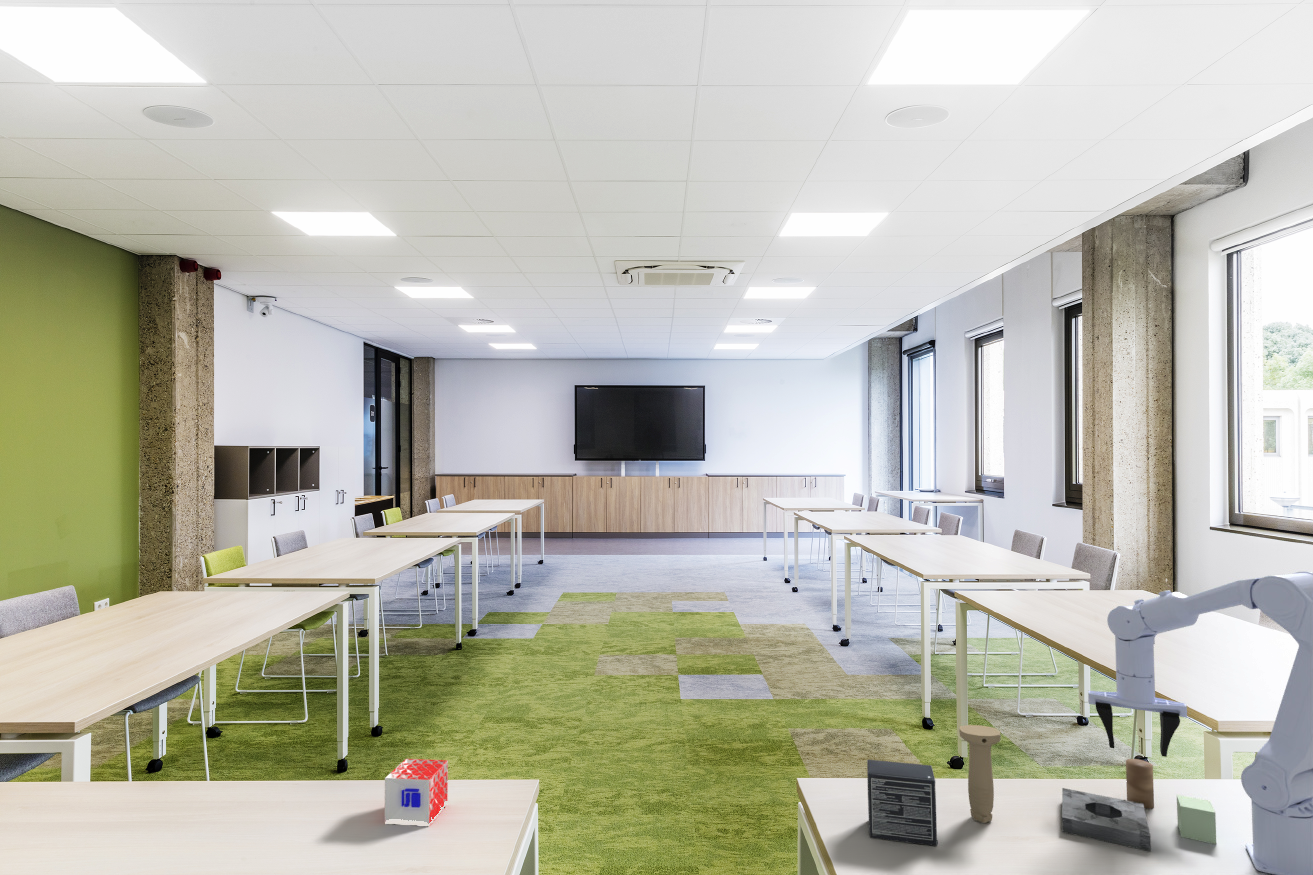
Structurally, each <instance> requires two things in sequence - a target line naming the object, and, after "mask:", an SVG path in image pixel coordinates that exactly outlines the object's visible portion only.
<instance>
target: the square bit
mask: <svg viewBox="0 0 1313 875" xmlns="http://www.w3.org/2000/svg"><path fill="white" fill-rule="evenodd" d="M1216 819H1217V818H1216V811H1215V808H1214V806H1213V804H1212V802H1211V800H1209V799H1207V800H1206V799H1203V798H1196V797H1192V796H1187V795H1186V796H1185V795H1182V794H1176V820H1177V827H1178V831H1179V833H1180V836H1181V838H1184V837H1186V838H1185V839H1189V838H1191V839H1190V840H1194V839H1195V840H1194V841H1199V840H1200V842H1203V841H1204V842H1205V843H1208V844H1212V845H1213V844H1215V845H1217V827H1216V826H1217V823H1216ZM1204 842H1203V843H1204Z"/></svg>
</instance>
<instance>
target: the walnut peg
mask: <svg viewBox="0 0 1313 875" xmlns="http://www.w3.org/2000/svg"><path fill="white" fill-rule="evenodd" d="M1125 777H1126V778H1125V781H1127V782H1126V800H1127V801H1132V802H1137V803H1142V804H1143V805H1144V809H1145V810H1151V809H1153V808H1154V807H1155V792H1154V790H1155V789H1154V765H1153V764H1152V763H1151V762H1148V761H1146V760H1143V759H1140V758H1139V759H1138V758H1127V759H1126V760H1125ZM1154 809H1155V808H1154Z"/></svg>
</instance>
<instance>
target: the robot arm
mask: <svg viewBox="0 0 1313 875" xmlns="http://www.w3.org/2000/svg"><path fill="white" fill-rule="evenodd" d="M1158 595H1159V596H1156V597H1153V598H1150V599H1146V600H1144V599H1143V598H1142V599H1136V600H1134V602H1133V603H1134V604H1133V605H1126V606H1125V605H1117V606H1116V607H1115V608H1113V609H1112V610H1110V611H1109V613H1108V616H1107V626H1108V628H1109V630H1110V632H1111V633H1112V634H1113V635H1114V639H1115V640H1114V641H1115V643H1114V644H1115V645H1114V646H1115V678H1116V683H1115V684H1116V691H1097V690H1088V692H1087V693H1088V695H1087V697H1088V699H1087V700H1088V704H1089V705H1095V710H1096V713H1097V715H1098V716H1099V718H1100V720H1101V722H1102V724H1103V727H1104V729H1105V733H1106V736H1107V738H1108V739H1107V740H1108V745H1109V748H1110V749H1115V738H1114V737H1115V736H1114V730H1113V727H1114V724H1113V721H1114V720H1113V716H1114V714H1113V707H1117V708H1124V709H1132V710H1138V711H1146V712H1154V713H1159V720H1160V721H1159V722H1160V724H1159V725H1160V739H1159V744H1160V745H1159V749H1160V750H1159V752H1160V754H1161V757H1163V758H1164V757H1165V758H1166V757H1168V749H1169V746H1170V743H1171V740H1172V738H1173V736H1174V735H1175V732H1176V730H1178V728H1179V726H1180V724H1181V718H1188V707H1187V704H1186V703H1185V702H1180V701H1174V700H1170V699H1165V698H1159V697H1156V688H1155V687H1156V684H1155V683H1156V682H1155V681H1156V680H1155V676H1156V675H1155V651H1154V648H1155V647H1154V646H1155V645H1156V644H1155V641H1156V640H1155V639H1156V636H1157V635H1159V634H1162V633H1167V632H1170V631H1174V630H1179V629H1183V628H1186V627H1187V628H1188V627H1191V626H1194V625H1195V624H1196V623H1197V621H1198V619H1199V616H1200V615H1202V614H1207V613H1212V612H1215V611H1220V610H1224V609H1225V610H1226V609H1229V608H1233V607H1238V606H1241V605H1242V606H1244V607H1246V608H1247V609H1249V610H1256V609H1259V610H1260V611H1261V612H1262V613H1263V614H1264V615H1265V616H1267V617H1268V618H1269V619H1270V620H1272V621H1273V622H1274V623H1276V624H1277V625H1279V626H1280V627H1281V628H1282V629H1284V630H1286V632H1287V633H1289V634H1290V636H1291V637H1292V638H1293V639H1294V640H1295V642H1296V643H1297V644H1298V648H1297V651H1296V655H1295V657H1294V661H1293V663H1292V667H1291V671H1290V673H1289V676H1288V679H1287V682H1286V686H1285V689H1284V692H1283V695H1282V698H1281V701H1280V703H1279V704H1280V705H1279V708H1278V711H1277V715H1276V717H1275V721H1274V724H1273V727H1272V729H1271V732H1270V736H1269V738H1268V740H1267V741H1266V743H1264V745H1262V747H1261V748H1260V749H1259V750H1258V751H1257V752H1256V755H1255V757H1254V760H1253V761H1252V763H1251V764H1249V765H1247V766H1246V767H1245V768H1243V770H1242V771H1241V776H1240V781H1241V785H1242V788H1243V790H1244V791H1245V794H1246V795H1247V796H1248V797H1249V799H1250V800H1251V822H1252V823H1251V824H1252V843H1248V842H1247V843H1245V845H1244V846H1245V848H1246V851H1247V852H1248V854H1249V858H1250V860H1251V861H1252V864H1253V866H1254V868H1255V869H1256V871H1259V872H1260V873H1261V872H1263V873H1266V874H1272V875H1313V572H1311V571H1298V572H1294V573H1289V574H1279V575H1278V574H1277V575H1267V576H1264V577H1263V576H1262V577H1255V578H1245V579H1239V580H1235V581H1232V582H1228V583H1226V584H1223V585H1219V586H1217V587H1214V588H1210V589H1208V590H1207V589H1206V590H1204V591H1201V592H1199V593H1195V594H1192V595H1186V594H1184V593H1181V592H1179V591H1174V592H1172V590H1170V589H1169V590H1163V591H1159V592H1158Z"/></svg>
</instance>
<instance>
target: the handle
mask: <svg viewBox="0 0 1313 875" xmlns="http://www.w3.org/2000/svg"><path fill="white" fill-rule="evenodd" d="M958 730H959V732H958V733H959V736H960V737H961V739H962V740H963V741H965V742H967V743H968V746H969V749H968V750H969V752H968V753H969V754H968V756H969V757H968V774H967V775H968V776H967V777H968V779H967V780H968V781H967V782H968V783H967V788H968V789H967V790H968V792H967V793H968V802H969V806H970V809H969V810H970V816H971V817H972V819H973V821H974V822H979V823H982V824H987V823H991V822H992V821H993V813H992V812H993V809H994V797H995V791H994V790H995V789H994V788H995V787H994V778H993V777H994V775H993V767H992V766H993V764H992V746H993V745H995V744H997V743H1000V742H1001V731H1000V730H998V729H997V728H995V727H991V726H988V725H987V726H986V725H978V724H977V725H975V724H974V725H973V724H967V725H960V726H959V729H958Z"/></svg>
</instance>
